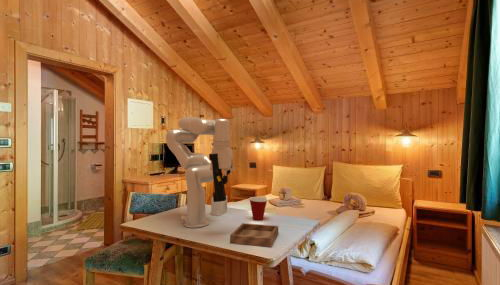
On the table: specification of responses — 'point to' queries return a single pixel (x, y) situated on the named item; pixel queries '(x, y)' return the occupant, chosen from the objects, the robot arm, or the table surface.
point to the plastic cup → (258, 207)
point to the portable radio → (217, 180)
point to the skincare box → (218, 207)
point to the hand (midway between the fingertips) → (222, 183)
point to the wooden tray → (254, 235)
